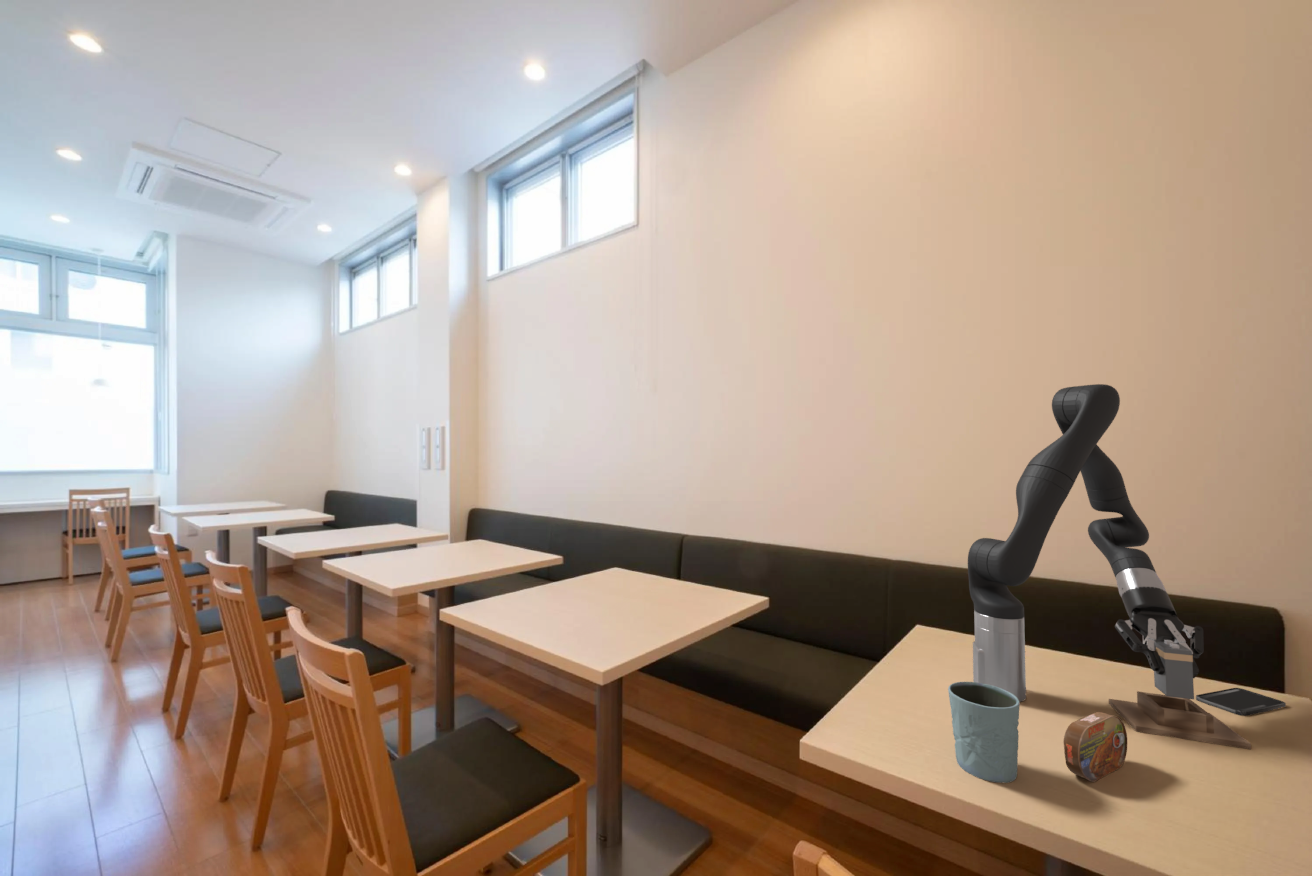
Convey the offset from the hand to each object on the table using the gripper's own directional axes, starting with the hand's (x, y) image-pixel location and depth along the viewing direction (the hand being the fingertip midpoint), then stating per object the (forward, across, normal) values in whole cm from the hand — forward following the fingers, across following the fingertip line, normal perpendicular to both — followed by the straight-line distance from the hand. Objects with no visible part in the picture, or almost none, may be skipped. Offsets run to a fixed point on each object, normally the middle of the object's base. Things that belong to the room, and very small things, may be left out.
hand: (1177, 674), depth 100 cm
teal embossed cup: (+27, -37, -14) cm, 48 cm away
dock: (+6, 0, +8) cm, 10 cm away
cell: (+2, 0, +4) cm, 4 cm away
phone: (-5, +18, +21) cm, 28 cm away
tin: (+23, -20, -9) cm, 32 cm away
